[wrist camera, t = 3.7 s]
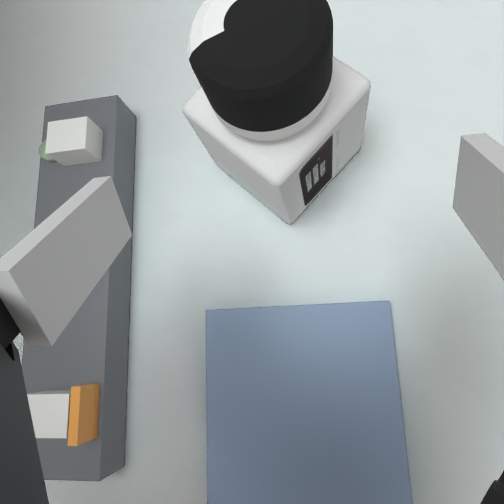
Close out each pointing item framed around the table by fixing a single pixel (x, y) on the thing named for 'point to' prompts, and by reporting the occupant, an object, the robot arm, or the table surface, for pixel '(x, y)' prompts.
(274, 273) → the table surface
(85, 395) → the breaker panel
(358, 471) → the pad
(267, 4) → the container
